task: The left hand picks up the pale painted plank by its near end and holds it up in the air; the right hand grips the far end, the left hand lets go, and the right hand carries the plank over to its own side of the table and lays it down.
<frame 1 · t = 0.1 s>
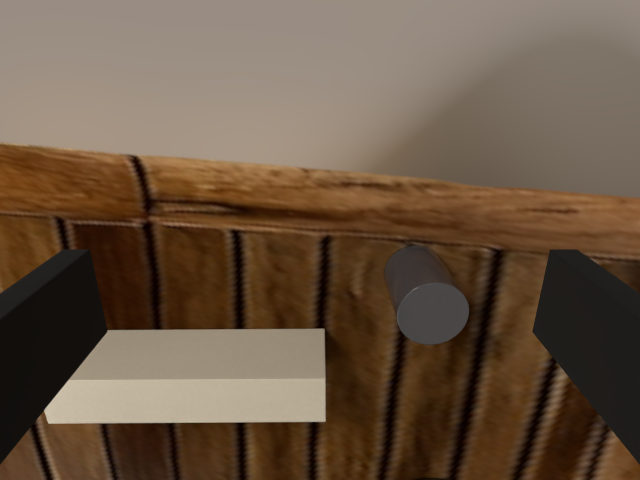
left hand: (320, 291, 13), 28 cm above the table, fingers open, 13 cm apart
plank: (205, 348, 47), on the table
dark grey cylinder: (413, 272, 43), on the table
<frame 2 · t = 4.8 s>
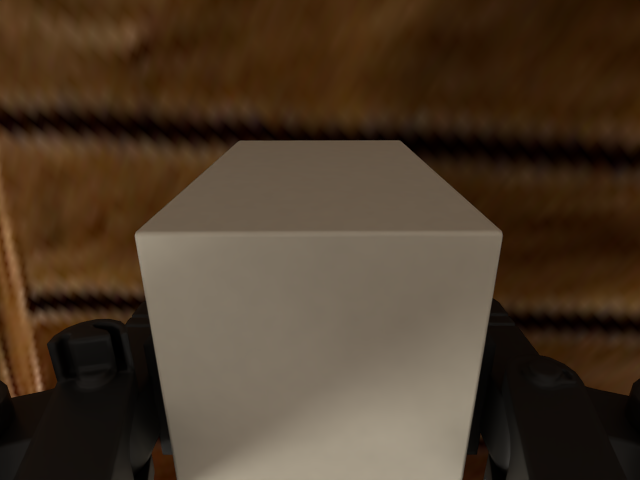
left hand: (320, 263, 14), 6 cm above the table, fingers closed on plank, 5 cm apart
plank: (320, 455, 18), point 5 cm above the table, touching left hand
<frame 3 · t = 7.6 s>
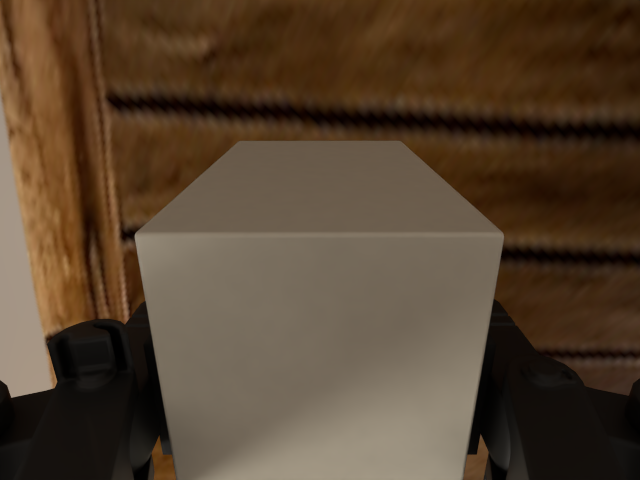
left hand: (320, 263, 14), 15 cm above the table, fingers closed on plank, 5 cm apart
plank: (320, 456, 18), point 14 cm above the table, touching left hand
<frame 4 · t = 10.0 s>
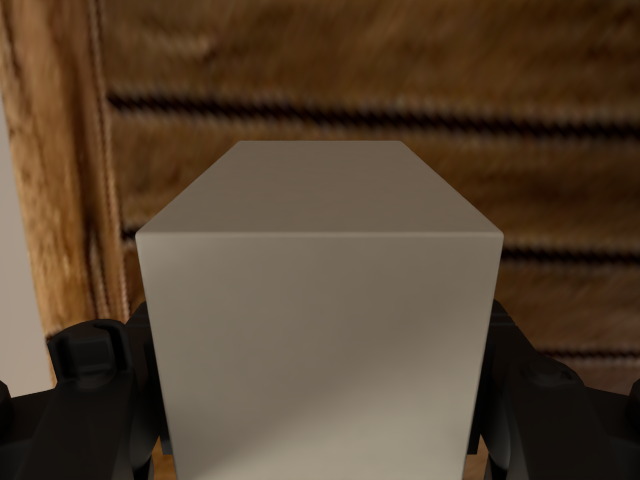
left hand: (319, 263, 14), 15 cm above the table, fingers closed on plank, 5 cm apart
plank: (320, 455, 18), point 14 cm above the table, touching left hand, right hand
when the left hand's fingers open (15 cm above the table, at t = 10.8 s): plank stays where it is, held by the right hand.
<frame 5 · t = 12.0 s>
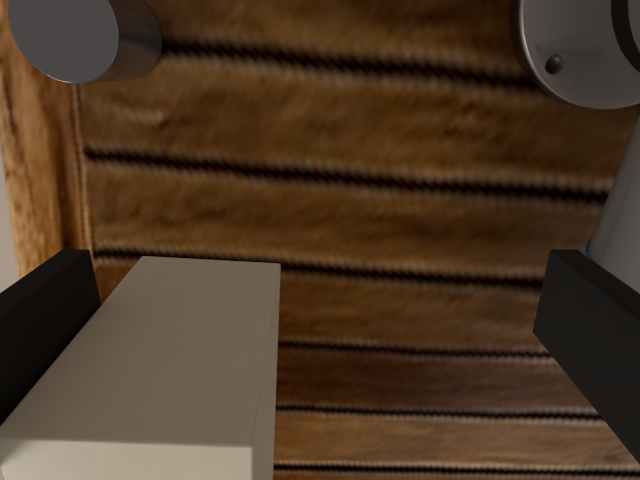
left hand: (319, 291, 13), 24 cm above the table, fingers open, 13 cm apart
dark grey cylinder: (120, 36, 31), on the table
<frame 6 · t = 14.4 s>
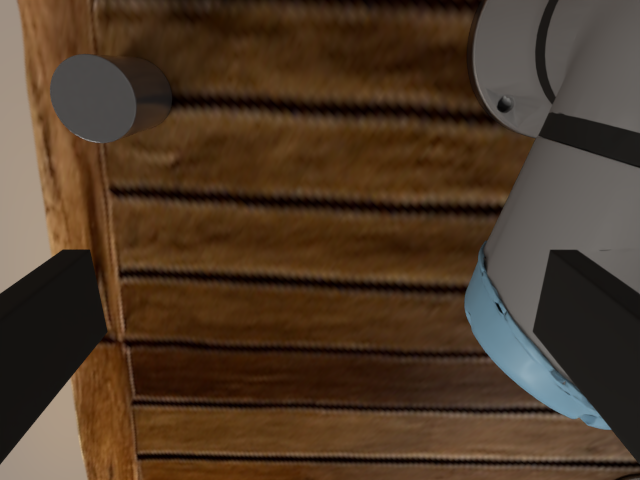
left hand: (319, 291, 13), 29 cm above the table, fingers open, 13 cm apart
dark grey cylinder: (137, 94, 38), on the table
when the right hand's fingers open (5 cm above the table, at t = 19.2 s): plank drops 1 cm, on the table.
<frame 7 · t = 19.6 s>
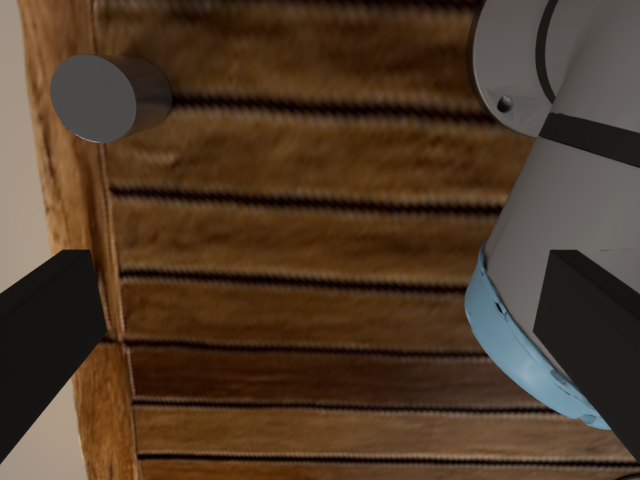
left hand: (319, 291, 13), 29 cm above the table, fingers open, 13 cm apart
dark grey cylinder: (137, 94, 38), on the table
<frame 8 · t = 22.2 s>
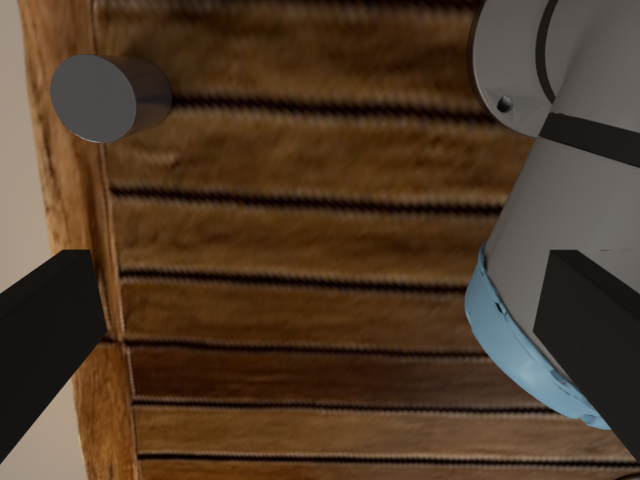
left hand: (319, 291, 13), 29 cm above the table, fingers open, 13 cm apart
dark grey cylinder: (137, 94, 38), on the table
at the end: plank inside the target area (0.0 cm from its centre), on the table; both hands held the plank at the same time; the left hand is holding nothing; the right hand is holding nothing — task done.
